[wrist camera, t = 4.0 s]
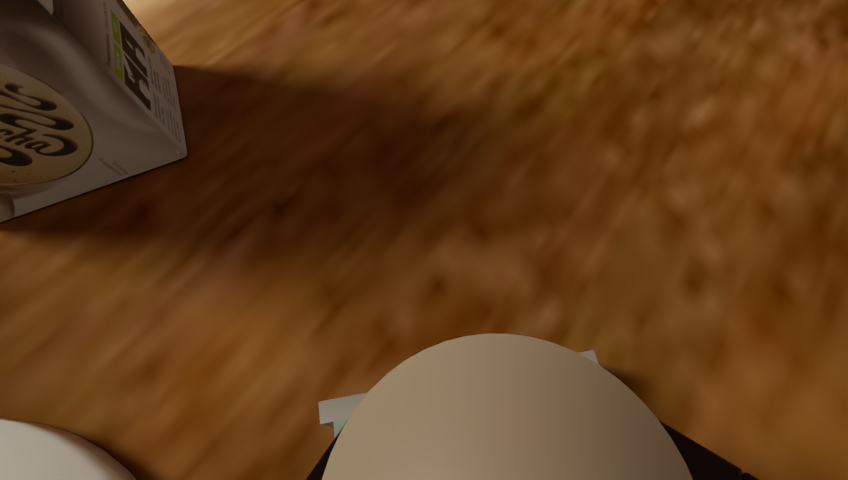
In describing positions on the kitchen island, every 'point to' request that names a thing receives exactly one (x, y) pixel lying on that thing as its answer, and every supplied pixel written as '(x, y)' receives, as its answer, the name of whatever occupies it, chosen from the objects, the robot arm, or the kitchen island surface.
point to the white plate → (52, 455)
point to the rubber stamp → (499, 419)
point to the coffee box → (80, 101)
